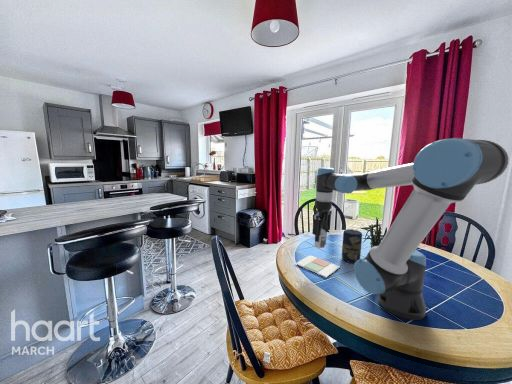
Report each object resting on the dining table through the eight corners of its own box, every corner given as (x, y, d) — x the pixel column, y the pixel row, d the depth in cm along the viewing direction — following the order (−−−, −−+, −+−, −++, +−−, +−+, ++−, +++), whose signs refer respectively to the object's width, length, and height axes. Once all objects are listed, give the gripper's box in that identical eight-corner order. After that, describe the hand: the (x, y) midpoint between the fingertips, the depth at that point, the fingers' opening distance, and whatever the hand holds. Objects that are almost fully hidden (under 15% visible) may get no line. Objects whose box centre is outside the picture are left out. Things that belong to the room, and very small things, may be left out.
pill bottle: (313, 244, 105) (314, 229, 104) (320, 243, 107) (322, 228, 105) (318, 248, 101) (320, 232, 99) (326, 247, 102) (328, 231, 101)
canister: (342, 263, 114) (345, 231, 111) (340, 255, 123) (342, 226, 120) (361, 265, 111) (364, 233, 109) (357, 257, 121) (360, 227, 118)
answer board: (339, 268, 108) (340, 266, 108) (326, 278, 99) (326, 276, 99) (310, 256, 121) (310, 254, 121) (295, 264, 112) (295, 262, 112)
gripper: (326, 196, 108) (323, 238, 112) (306, 201, 96) (303, 248, 101) (340, 198, 102) (336, 243, 107) (320, 204, 91) (317, 253, 95)
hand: (320, 245), depth 104 cm, fingers closed on pill bottle, 5 cm apart
